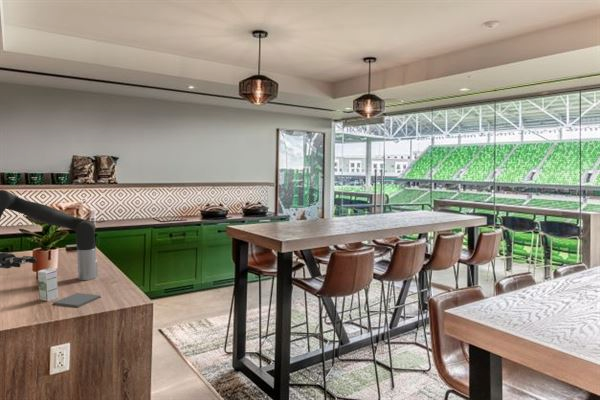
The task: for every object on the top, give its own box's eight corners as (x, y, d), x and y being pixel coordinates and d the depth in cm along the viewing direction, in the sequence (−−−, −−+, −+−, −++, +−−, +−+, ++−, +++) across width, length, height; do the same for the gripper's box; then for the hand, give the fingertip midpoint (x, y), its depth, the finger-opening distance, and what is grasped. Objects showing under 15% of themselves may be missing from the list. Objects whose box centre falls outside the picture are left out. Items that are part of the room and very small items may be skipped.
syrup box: (58, 298, 189) (57, 269, 187) (47, 301, 183) (45, 272, 182) (50, 296, 190) (48, 267, 189) (38, 300, 185) (37, 270, 184)
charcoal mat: (77, 294, 193) (77, 292, 193) (100, 297, 190) (100, 295, 190) (53, 304, 180) (53, 302, 180) (78, 307, 177) (78, 305, 176)
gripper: (-13, 255, 184) (13, 258, 181) (15, 249, 198) (41, 252, 194) (-13, 271, 185) (14, 274, 181) (16, 264, 199) (41, 267, 195)
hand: (28, 263), depth 188 cm, fingers open, 8 cm apart
